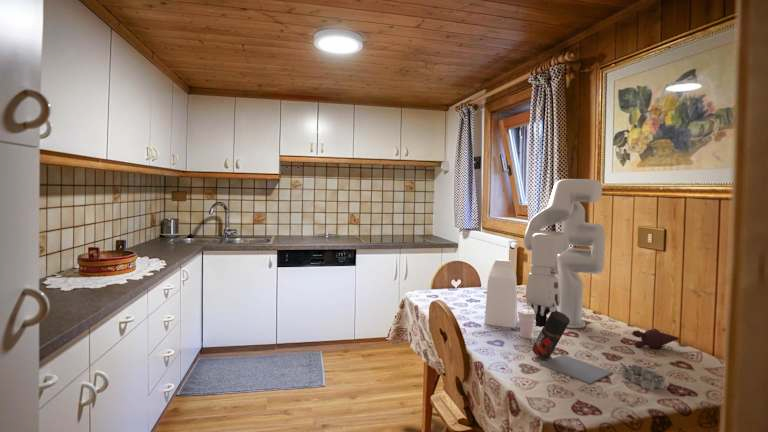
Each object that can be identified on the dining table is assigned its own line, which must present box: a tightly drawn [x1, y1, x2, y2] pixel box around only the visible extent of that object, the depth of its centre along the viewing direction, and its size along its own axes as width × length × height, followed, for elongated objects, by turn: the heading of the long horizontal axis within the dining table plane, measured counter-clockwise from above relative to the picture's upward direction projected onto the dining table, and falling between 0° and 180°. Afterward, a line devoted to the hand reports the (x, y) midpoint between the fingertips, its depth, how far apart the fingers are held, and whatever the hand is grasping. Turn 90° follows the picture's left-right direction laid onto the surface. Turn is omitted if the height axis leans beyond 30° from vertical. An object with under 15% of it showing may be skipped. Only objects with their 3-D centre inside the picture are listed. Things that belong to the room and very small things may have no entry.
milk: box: [483, 259, 518, 328], centre depth 171 cm, size 12×12×26 cm
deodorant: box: [531, 311, 570, 360], centre depth 133 cm, size 6×6×15 cm
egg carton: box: [619, 362, 668, 391], centre depth 119 cm, size 11×8×4 cm
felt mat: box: [539, 354, 614, 385], centre depth 126 cm, size 13×16×1 cm
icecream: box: [631, 328, 680, 350], centre depth 146 cm, size 7×7×15 cm
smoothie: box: [517, 305, 536, 339], centre depth 154 cm, size 6×6×14 cm
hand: (540, 325), depth 135 cm, fingers closed
